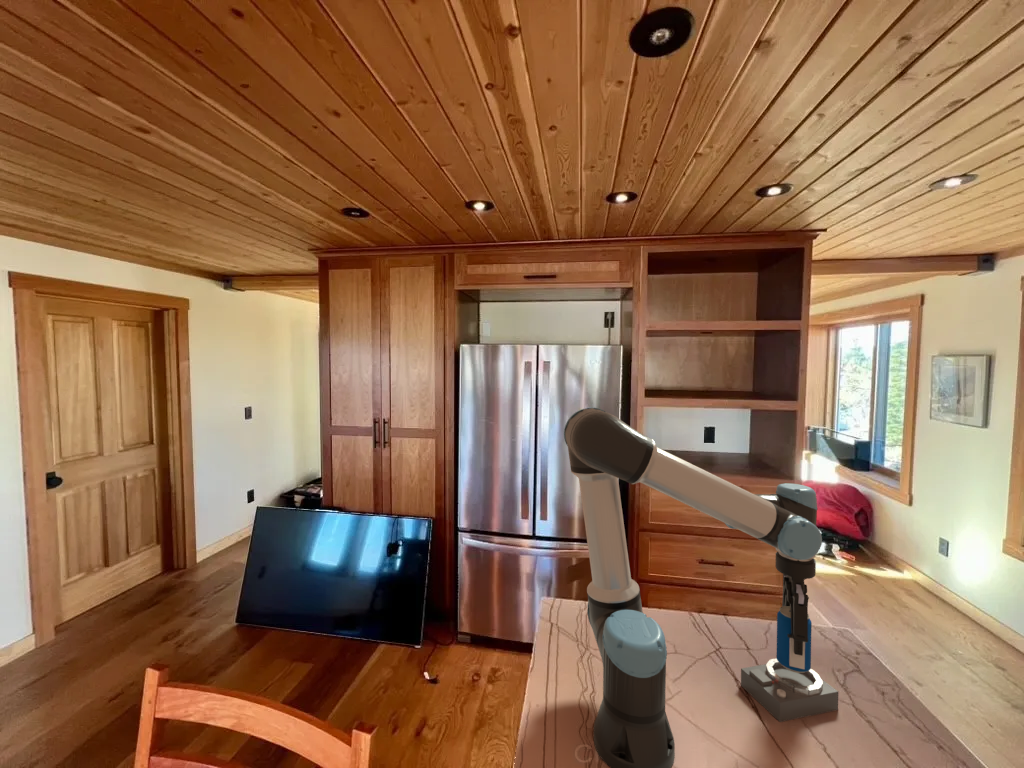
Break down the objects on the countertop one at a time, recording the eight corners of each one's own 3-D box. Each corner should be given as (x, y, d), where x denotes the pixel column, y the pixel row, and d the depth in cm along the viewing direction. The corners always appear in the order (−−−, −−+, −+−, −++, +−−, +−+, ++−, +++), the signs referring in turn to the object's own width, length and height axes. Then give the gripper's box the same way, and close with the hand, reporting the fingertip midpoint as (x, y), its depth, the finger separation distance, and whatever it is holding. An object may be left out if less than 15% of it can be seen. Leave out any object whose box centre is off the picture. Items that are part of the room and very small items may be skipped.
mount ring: (793, 698, 92) (794, 693, 92) (756, 666, 102) (756, 661, 102) (834, 691, 94) (834, 685, 94) (793, 660, 105) (793, 655, 105)
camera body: (779, 721, 91) (780, 699, 91) (740, 685, 102) (741, 664, 102) (838, 709, 94) (838, 687, 94) (794, 675, 105) (794, 656, 105)
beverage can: (814, 666, 98) (815, 613, 98) (805, 679, 94) (807, 624, 94) (781, 652, 103) (782, 602, 103) (772, 664, 98) (773, 611, 98)
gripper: (827, 576, 87) (825, 690, 88) (805, 542, 105) (803, 637, 106) (783, 569, 90) (781, 679, 91) (769, 537, 108) (767, 630, 109)
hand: (793, 656), depth 98 cm, fingers closed on beverage can, 6 cm apart
